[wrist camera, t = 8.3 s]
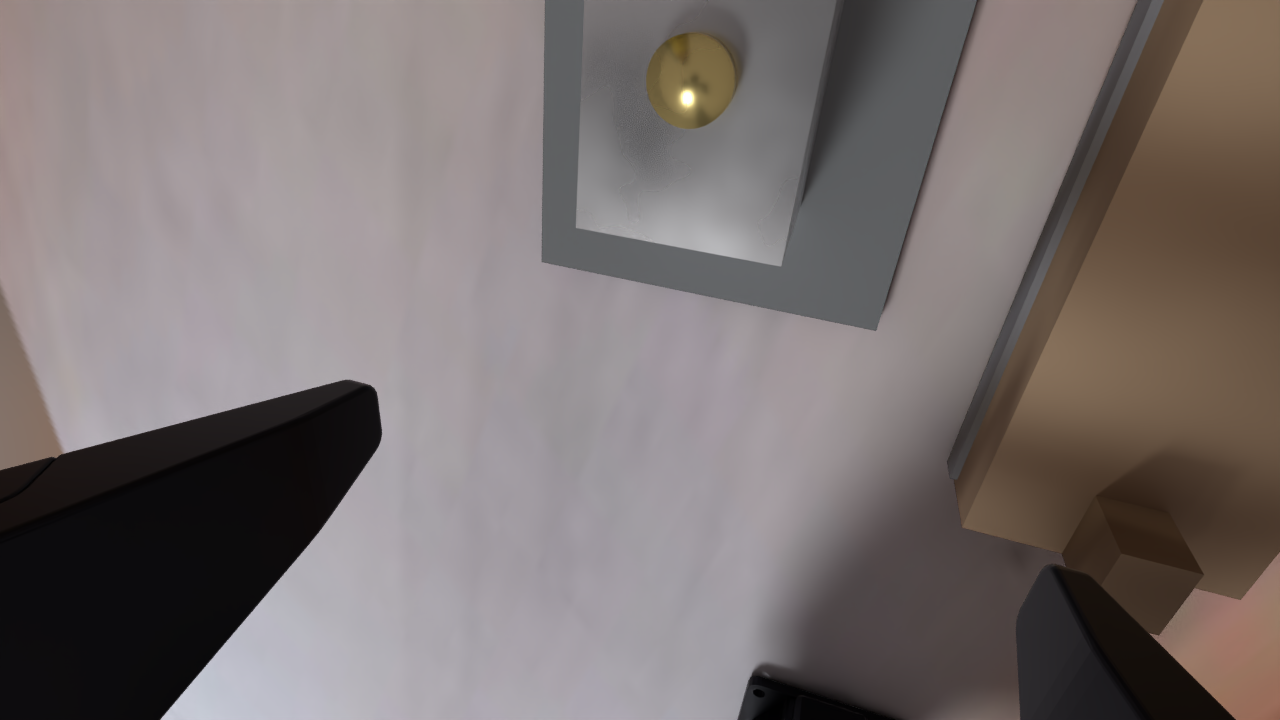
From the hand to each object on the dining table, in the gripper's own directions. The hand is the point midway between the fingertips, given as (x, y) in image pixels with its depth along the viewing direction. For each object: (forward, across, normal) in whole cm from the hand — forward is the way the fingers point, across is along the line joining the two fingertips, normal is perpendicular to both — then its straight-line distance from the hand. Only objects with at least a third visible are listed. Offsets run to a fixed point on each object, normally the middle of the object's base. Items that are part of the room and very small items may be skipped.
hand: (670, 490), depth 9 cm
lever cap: (+11, +2, -4) cm, 12 cm away
